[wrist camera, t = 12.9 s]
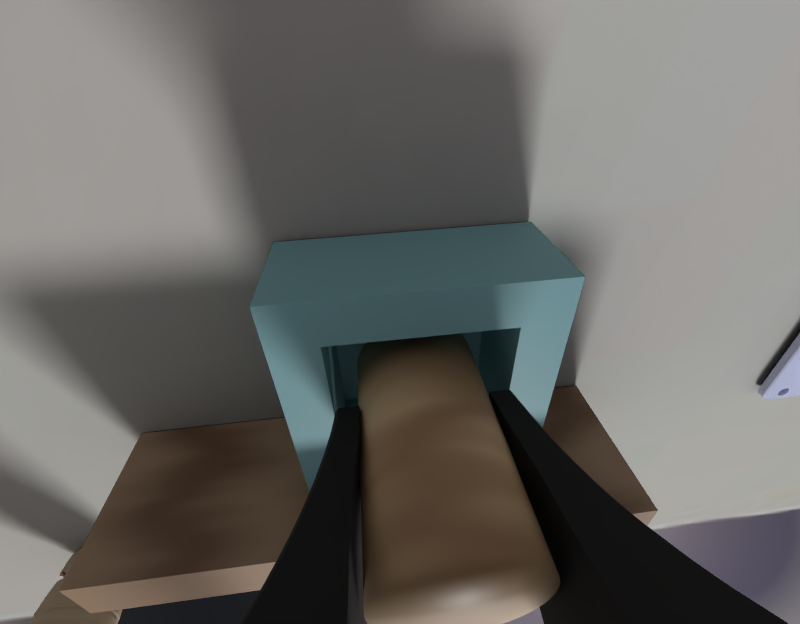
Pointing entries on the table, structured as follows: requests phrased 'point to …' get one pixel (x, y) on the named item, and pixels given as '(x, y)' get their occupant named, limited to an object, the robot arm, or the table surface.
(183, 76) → the table surface
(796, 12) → the table surface
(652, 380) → the table surface
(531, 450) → the robot arm
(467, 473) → the dowel
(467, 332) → the socket block
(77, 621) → the handle
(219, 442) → the wall
